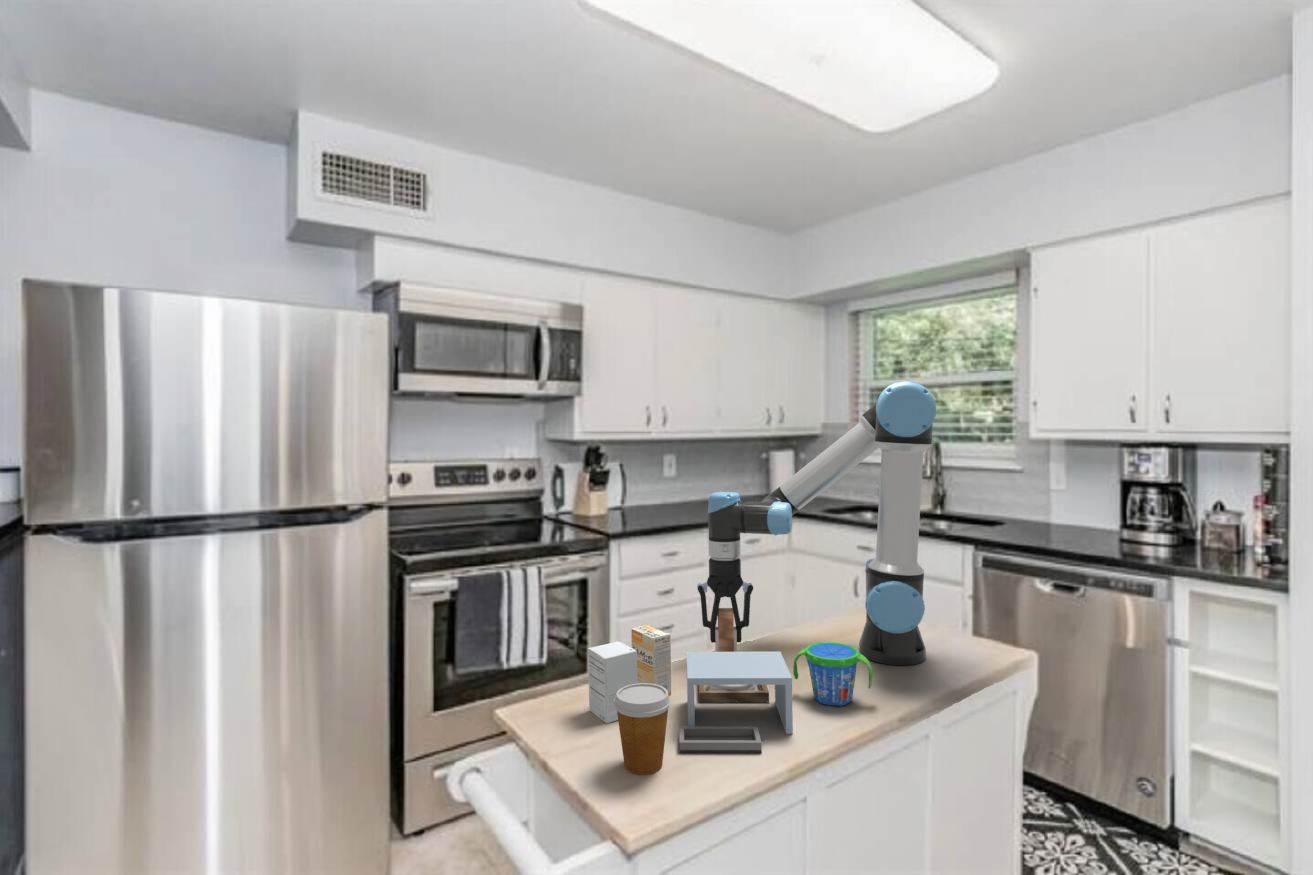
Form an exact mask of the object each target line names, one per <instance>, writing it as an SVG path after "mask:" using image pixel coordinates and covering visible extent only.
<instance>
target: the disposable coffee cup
mask: <svg viewBox="0 0 1313 875" xmlns="http://www.w3.org/2000/svg"><path fill="white" fill-rule="evenodd" d="M671 704H672V699H671V697H670V695H669V694H668V691H667V690H666V689H665V688H664V687H662V686H660V685H656V684H651V683H637V684H631V685H627V686H625V687H623V688H620V689H619V690H618V691H617V694H616V698H615V699H614V706H615V708H616V710H617V715H618V720H617V722H618V730H619V736H620V742H621V744H620V745H621V750H622V756H623V757H622V758H623V765H624V769H625V770H626V771H628V772H629V773H632V774H636V775H649V774H653V773H655V772H658V771H659V770H661V769H662V767H663V763H664V762H663V761H664V760H663V759H664V752H665V743H666V734H667V726H668V725H667V724H668V714H669V708H670V706H671Z"/></svg>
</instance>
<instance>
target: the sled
mask: <svg viewBox="0 0 1313 875" xmlns="http://www.w3.org/2000/svg"><path fill="white" fill-rule="evenodd" d="M734 624H735V619H734V614H733V609H732V607H719V610H718V616H717V627H718V630H719V652H734V627H735V626H734ZM697 686H698V698H699V699H698V700H699V703H770V692H769V689H768V685H758V686H759V690H755V691H708V690H705V685H697Z"/></svg>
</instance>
